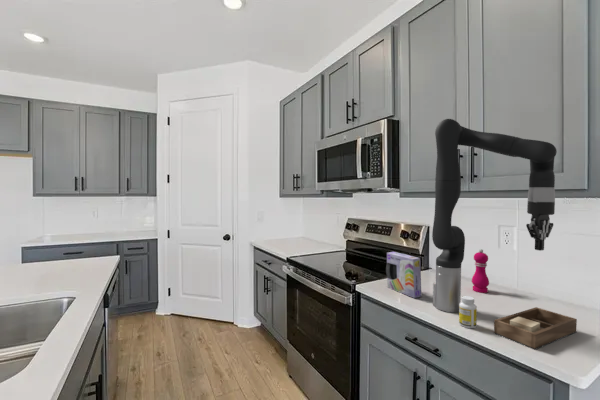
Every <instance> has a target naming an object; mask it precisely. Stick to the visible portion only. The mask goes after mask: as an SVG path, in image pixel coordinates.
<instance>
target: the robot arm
mask: <svg viewBox="0 0 600 400" xmlns="http://www.w3.org/2000/svg"><path fill="white" fill-rule="evenodd" d="M434 132H435V133H434V134H435V143H436V145H435V146H436V164H435V165H436V166H435V178H434V179H435V183H434V184H435V186H434V191H435V192H434V193H435V194H434V195H435V196H434V197H435V199H434V201H435V202H434V216H433V224H432V234H431V237H432V242H433V244H434V246H435V247H436V248H437V249H438V250H440V251H441V250H442V252H441V253H440V255H438V256H437V257H436V259H435V282H433V284H432V285H433V287H432V289H433V290H432V294H433V295H432V296H433V297H432V306H434V307H435V308H436V309H437V310H440V311H443V312H447V313H459V304H460V303H461V302H462V300H461V299H462V294H461V293H462V291H461V290H462V287H461V286H462V262H463V261H464V258H465V246H466V245H465V244H466V238H465V237H466V236H465V233H464V231H463V229H462V228H461V227H459V226H456V225H452V217H453V216H452V215H453V212H454V209H455V207H456V205H457V203H458V201H459V199H460V196H461V191H462V176H461V167H460V163H459V155H458V154H459V153H458V149H459V146H465V147H472V148H475V149H476V148H477V149H480V150H484V151H486V152H487V151H488V152H492V153H495V154H499V155H503V156H508V157H513V158H521V159H525V160H529V167H530V169H529V170H530V171H529V172H530V173H529V176H528V177H529V179H528V192H527V209H526V213H527V214H528V215H529V214H530V215H531V217H530V223H526V228H527V231H528V233H529V236H530V238H533V240H534V250H535V251H540V252H541V251H544V250H545V240H546V238H549V237H550V234H551V232H552V229H553V228H554V222H550V216H552V215H555V209H556V208H555V205H556V190H555V183H556V182H555V180H556V178H555V177H556V175H555V171H554V169H555V168H554V166H555V157H556V155H557V148H556V146H555V145H554V144H553V143H550V142H548V141H544V140H537V139H528V138H527V139H526V138H522V137H518V136H515V135H510V134H509V135H507V134H504V133H503V134H502V133H497V132H496V133H495V132H485V131H478V130H473V129H471V128H467V127H466V126H462V125H461V124H460V123H459V122H458V121H457V120H455V119H453V118H446V119H443V120H441V121H440V122H438V124H437V125H436V128H435V131H434Z"/></svg>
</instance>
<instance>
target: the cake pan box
mask: <svg viewBox="0 0 600 400" xmlns="http://www.w3.org/2000/svg"><path fill="white" fill-rule="evenodd" d="M421 262H422V261H421V257H417V256H413V255H409V254H406V253H400V252H397V251H390V252H389V251H388V252H386V266H385V274H386V278H387V279H386V281H387V286H386V287H387V288H388V289H391V290H393V291H396V292H397V293H398V292H399V293H401V294H403V295H405V296H409V297H411V298H413V299H417V298H422V272H421V271H422V270H421V269H422V268H421Z"/></svg>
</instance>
